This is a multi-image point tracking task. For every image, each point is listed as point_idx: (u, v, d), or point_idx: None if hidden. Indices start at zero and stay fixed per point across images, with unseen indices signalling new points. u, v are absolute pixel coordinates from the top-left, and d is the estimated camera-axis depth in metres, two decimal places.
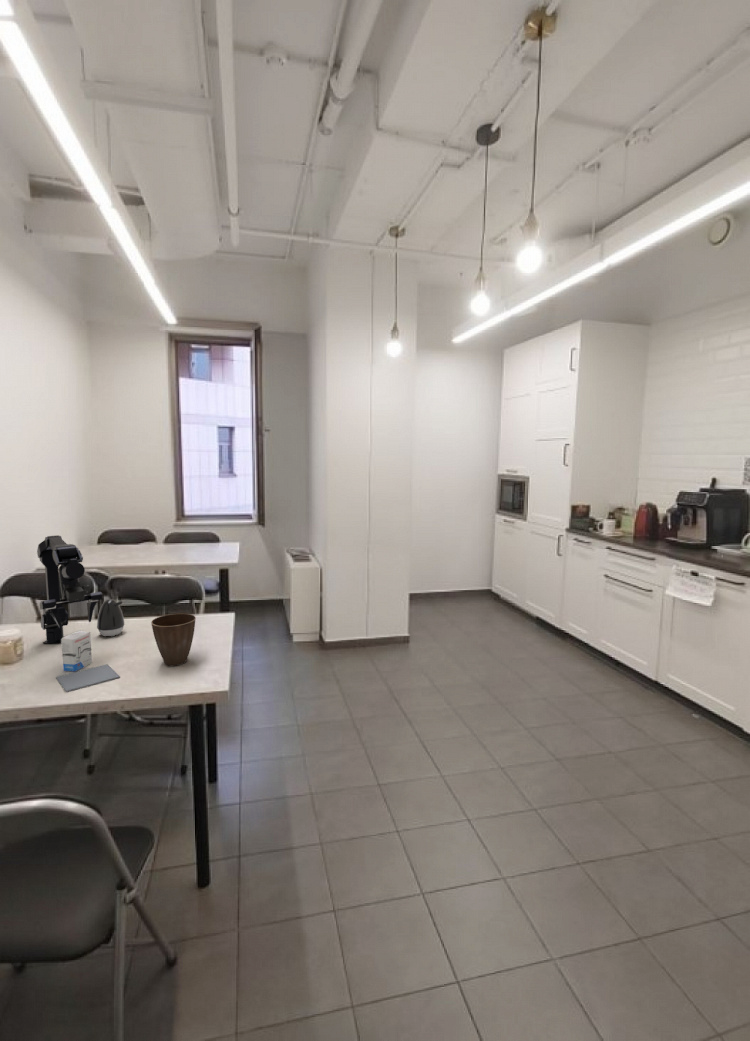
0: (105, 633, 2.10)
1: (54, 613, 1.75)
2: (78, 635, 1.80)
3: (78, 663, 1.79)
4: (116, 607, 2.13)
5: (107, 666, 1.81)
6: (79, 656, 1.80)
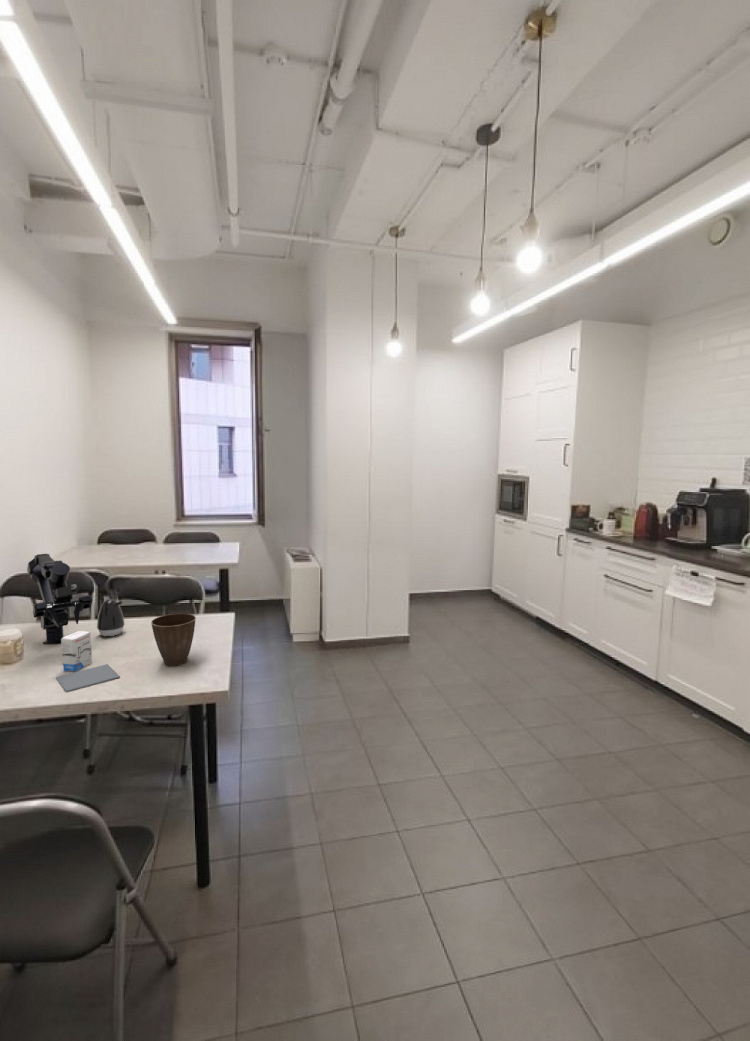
0: (105, 633, 2.10)
1: (52, 613, 1.87)
2: (78, 635, 1.81)
3: (78, 663, 1.79)
4: (116, 607, 2.13)
5: (107, 666, 1.81)
6: (79, 656, 1.80)
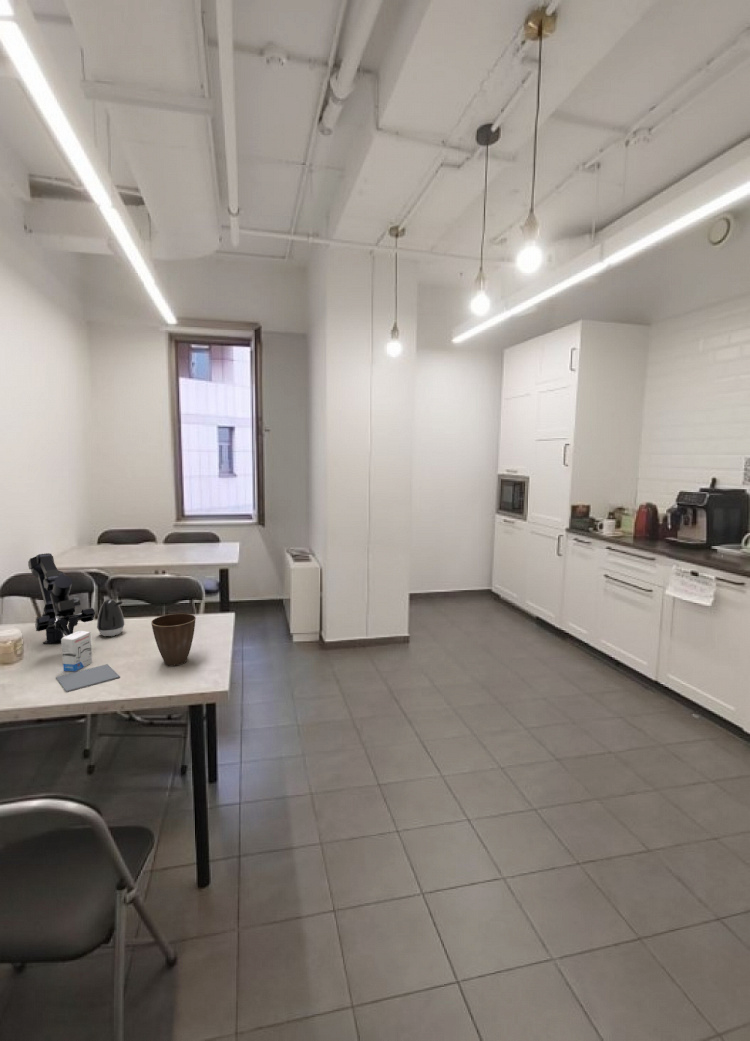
0: (105, 633, 2.10)
1: (63, 625, 1.87)
2: (78, 635, 1.80)
3: (78, 663, 1.79)
4: (116, 607, 2.13)
5: (107, 666, 1.81)
6: (79, 656, 1.80)
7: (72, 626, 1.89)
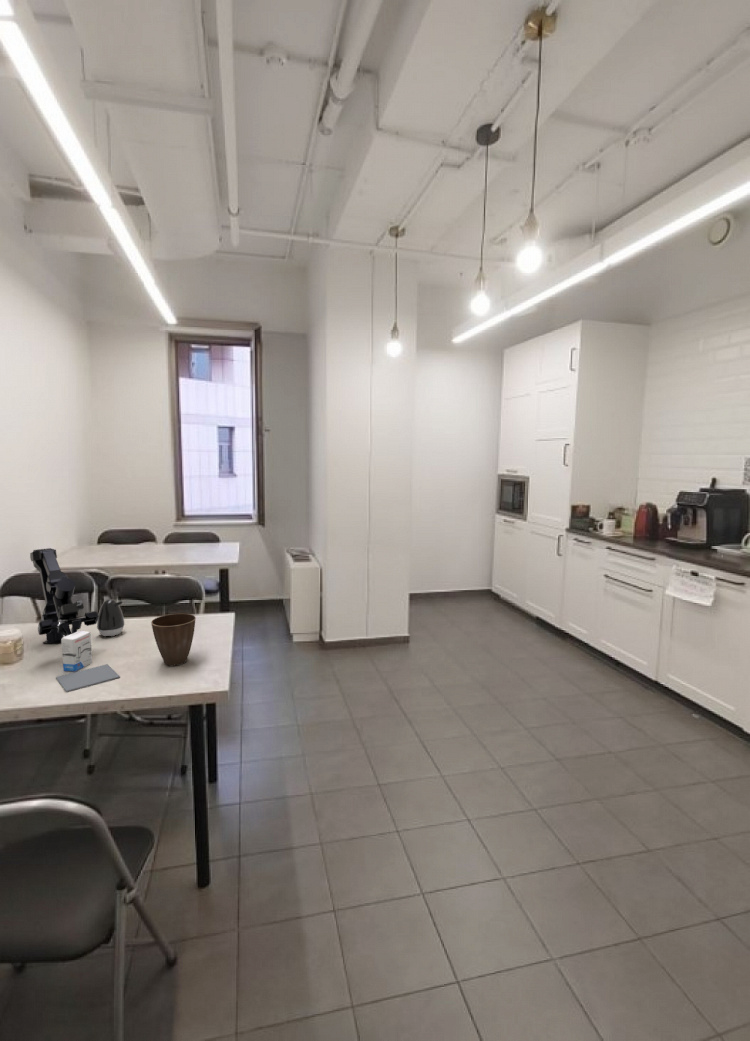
0: (105, 633, 2.10)
1: (66, 628, 1.84)
2: (79, 635, 1.80)
3: (78, 663, 1.79)
4: (116, 607, 2.13)
5: (107, 666, 1.81)
6: (79, 656, 1.80)
7: (75, 630, 1.86)
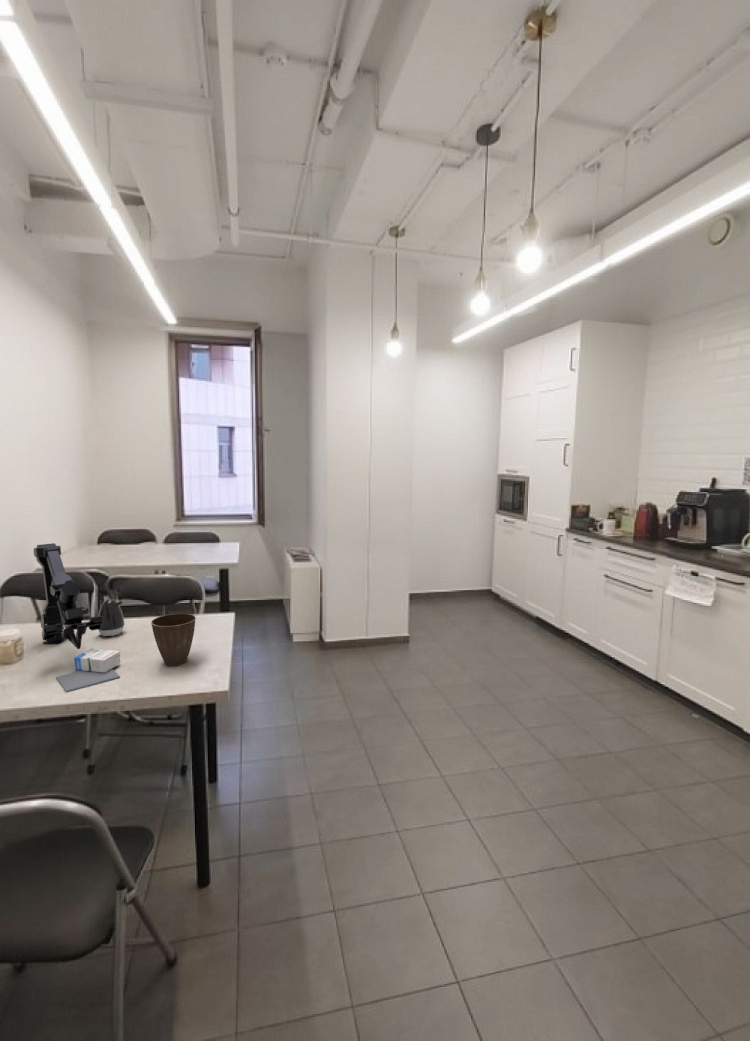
0: (105, 633, 2.10)
1: (71, 634, 1.80)
2: (112, 665, 1.79)
3: None
4: (116, 607, 2.13)
5: None
6: None
7: (80, 635, 1.81)
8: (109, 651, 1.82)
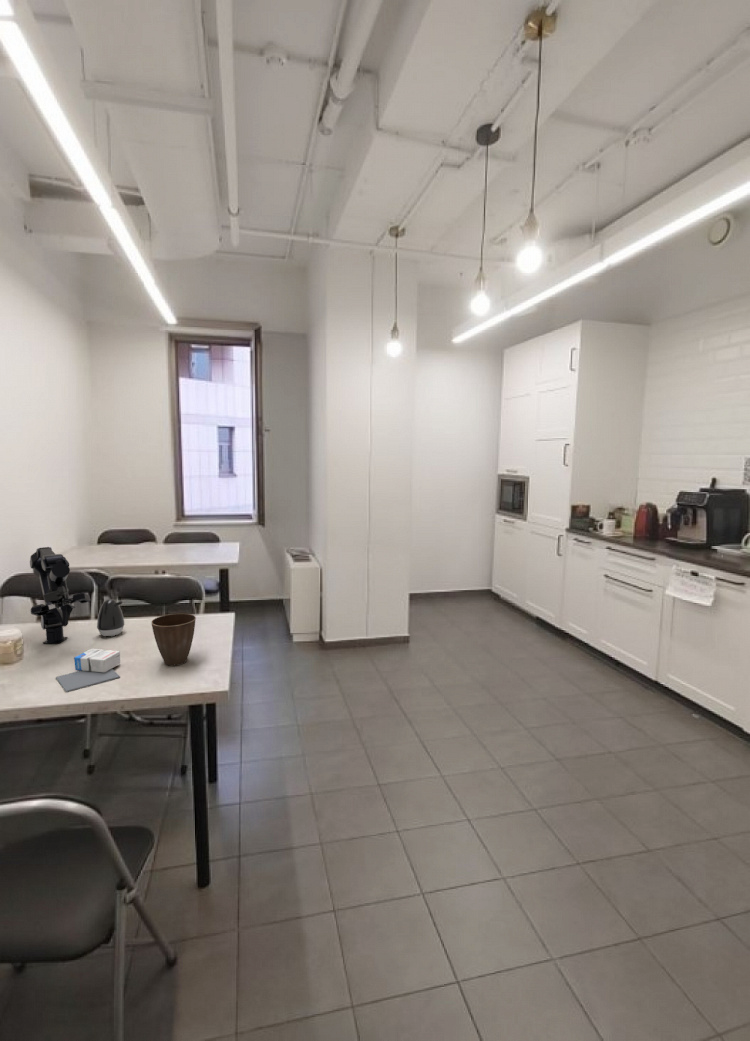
0: (105, 633, 2.10)
1: (55, 613, 1.89)
2: (112, 665, 1.79)
3: None
4: (116, 607, 2.13)
5: None
6: None
7: (64, 613, 1.90)
8: (109, 651, 1.82)
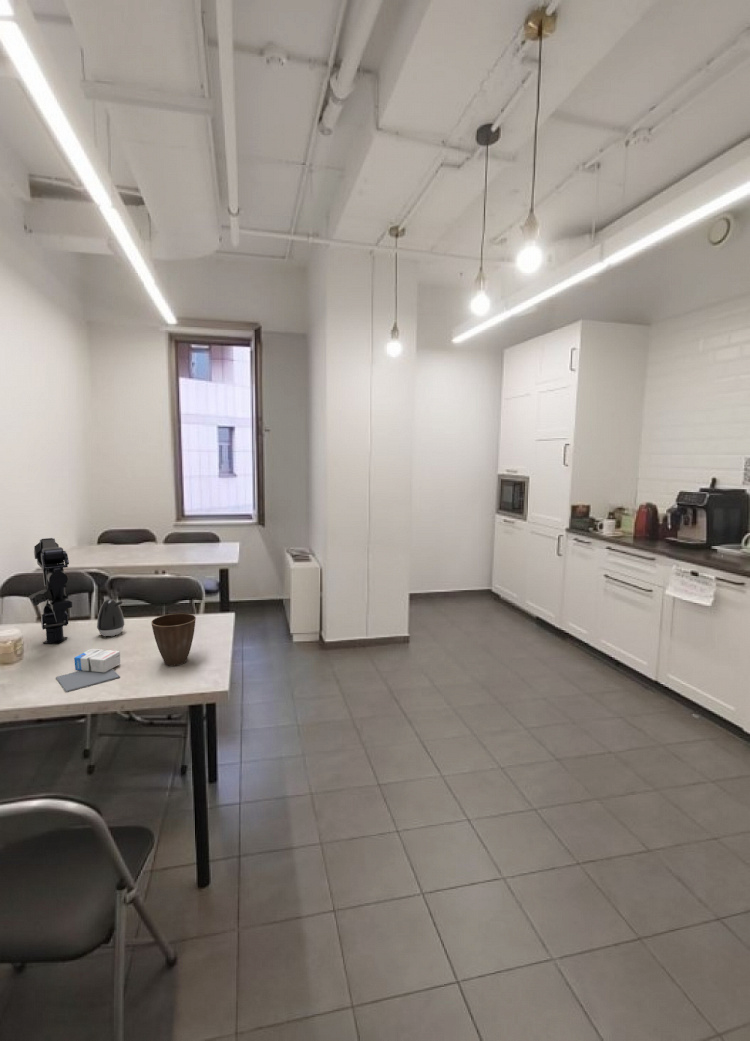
0: (105, 633, 2.10)
1: None
2: (112, 665, 1.79)
3: None
4: (116, 607, 2.13)
5: None
6: None
7: (54, 613, 1.91)
8: (109, 651, 1.82)
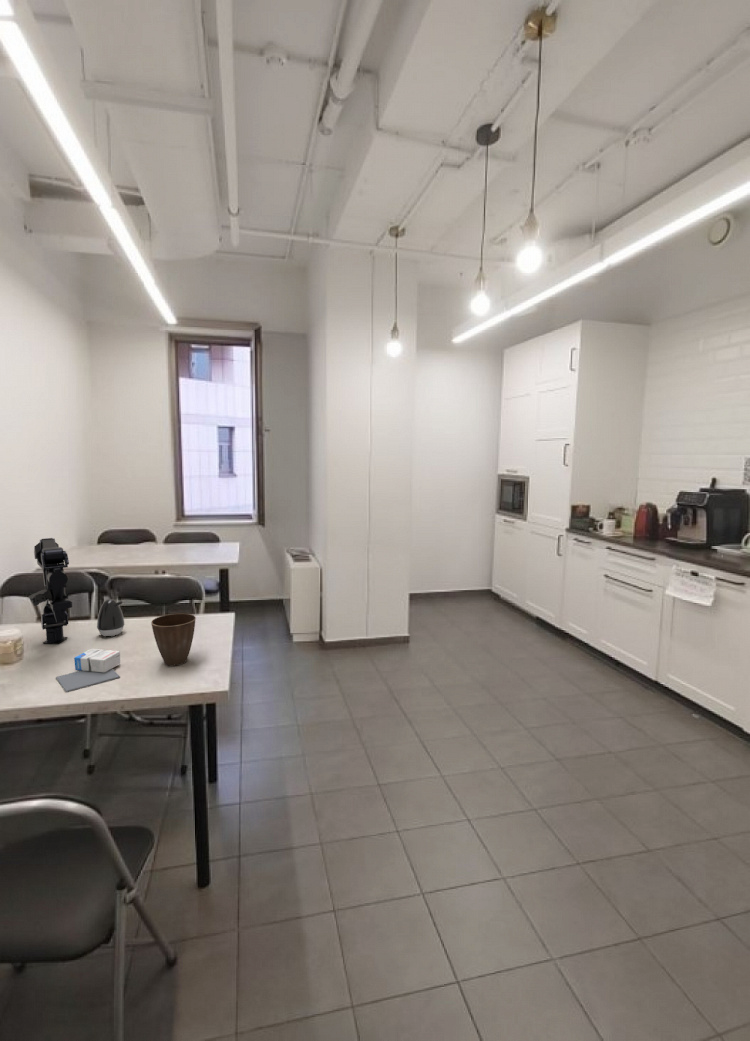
0: (105, 633, 2.10)
1: None
2: (112, 665, 1.79)
3: None
4: (116, 607, 2.13)
5: None
6: None
7: (54, 613, 1.91)
8: (109, 651, 1.82)
